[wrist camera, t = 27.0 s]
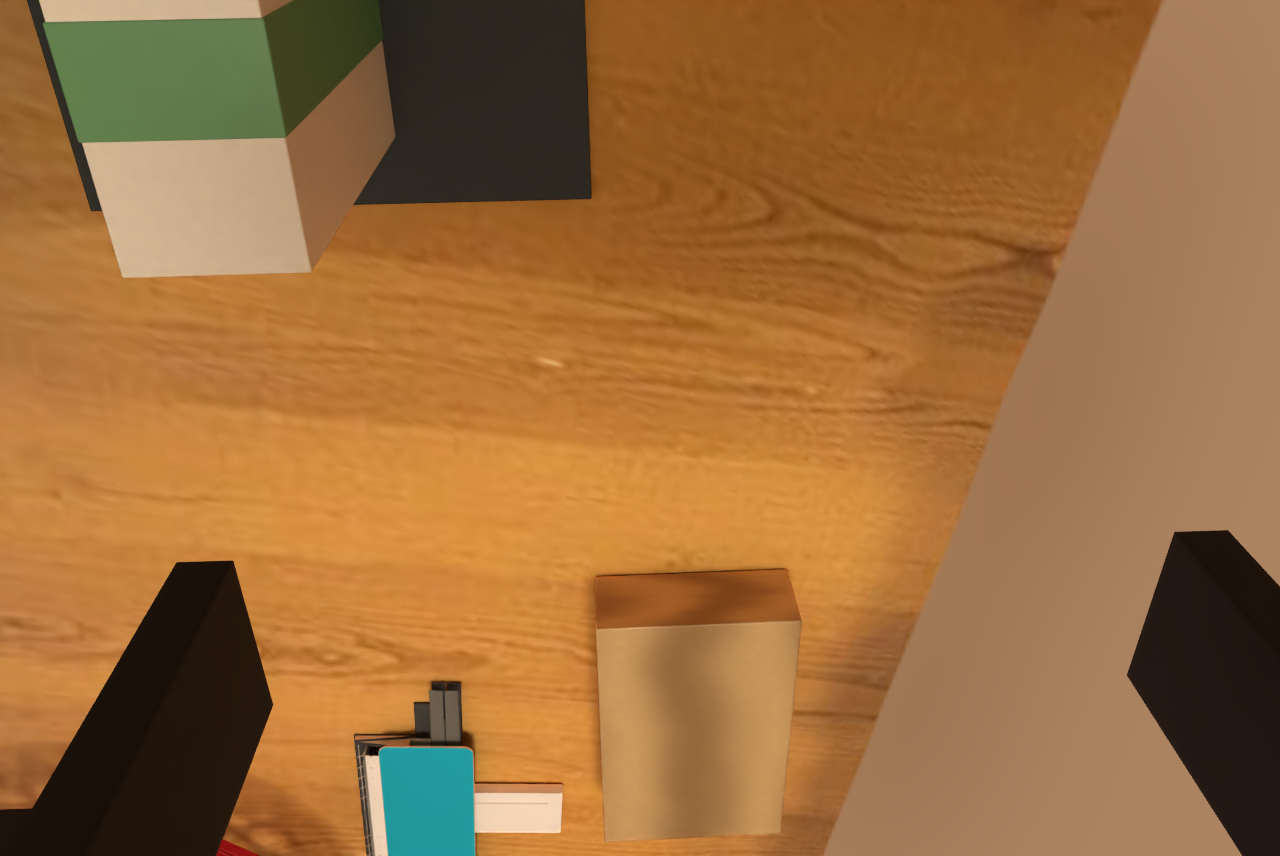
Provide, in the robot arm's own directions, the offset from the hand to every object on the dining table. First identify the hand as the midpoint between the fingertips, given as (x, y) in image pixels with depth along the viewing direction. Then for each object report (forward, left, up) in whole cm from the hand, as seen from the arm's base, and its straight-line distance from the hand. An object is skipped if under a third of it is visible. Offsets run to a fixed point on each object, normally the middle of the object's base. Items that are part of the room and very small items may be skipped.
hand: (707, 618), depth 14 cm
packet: (+12, -5, -22) cm, 25 cm away
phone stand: (+11, +40, -29) cm, 51 cm away
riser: (-3, +31, -29) cm, 43 cm away
